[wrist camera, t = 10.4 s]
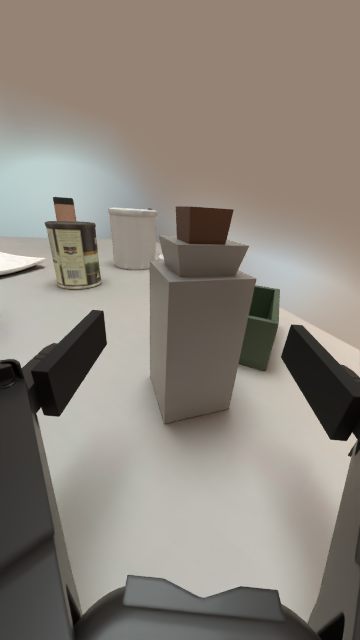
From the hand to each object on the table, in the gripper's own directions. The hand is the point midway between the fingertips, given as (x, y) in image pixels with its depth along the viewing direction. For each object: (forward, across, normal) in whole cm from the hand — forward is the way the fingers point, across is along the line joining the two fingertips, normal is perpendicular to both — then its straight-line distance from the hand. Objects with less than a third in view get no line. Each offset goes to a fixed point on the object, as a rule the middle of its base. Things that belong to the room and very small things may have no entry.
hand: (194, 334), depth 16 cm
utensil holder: (+63, -20, -10) cm, 66 cm away
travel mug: (+88, -55, -10) cm, 104 cm away
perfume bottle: (+5, 0, -10) cm, 11 cm away
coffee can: (+39, -28, -10) cm, 49 cm away
